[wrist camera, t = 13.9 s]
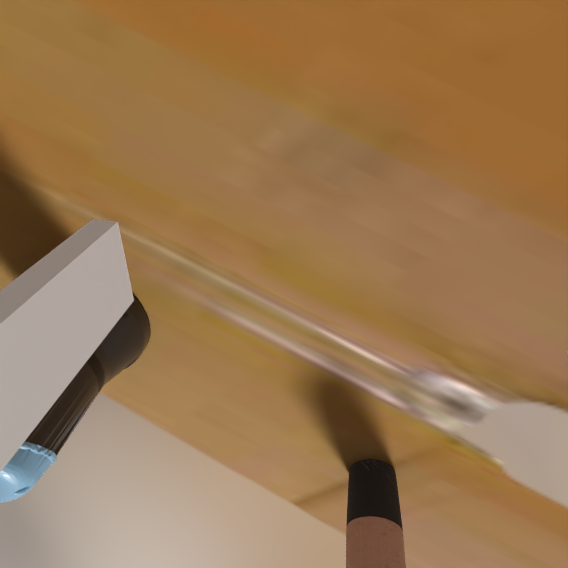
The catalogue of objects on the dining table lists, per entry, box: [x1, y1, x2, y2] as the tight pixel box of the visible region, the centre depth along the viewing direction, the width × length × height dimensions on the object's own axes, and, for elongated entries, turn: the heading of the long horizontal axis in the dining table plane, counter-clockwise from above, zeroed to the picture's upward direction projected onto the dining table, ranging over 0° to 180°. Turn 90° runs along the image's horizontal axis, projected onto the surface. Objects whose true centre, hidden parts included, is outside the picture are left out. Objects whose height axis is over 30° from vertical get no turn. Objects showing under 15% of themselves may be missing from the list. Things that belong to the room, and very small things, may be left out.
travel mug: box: [346, 460, 406, 568], centre depth 55 cm, size 8×8×20 cm
